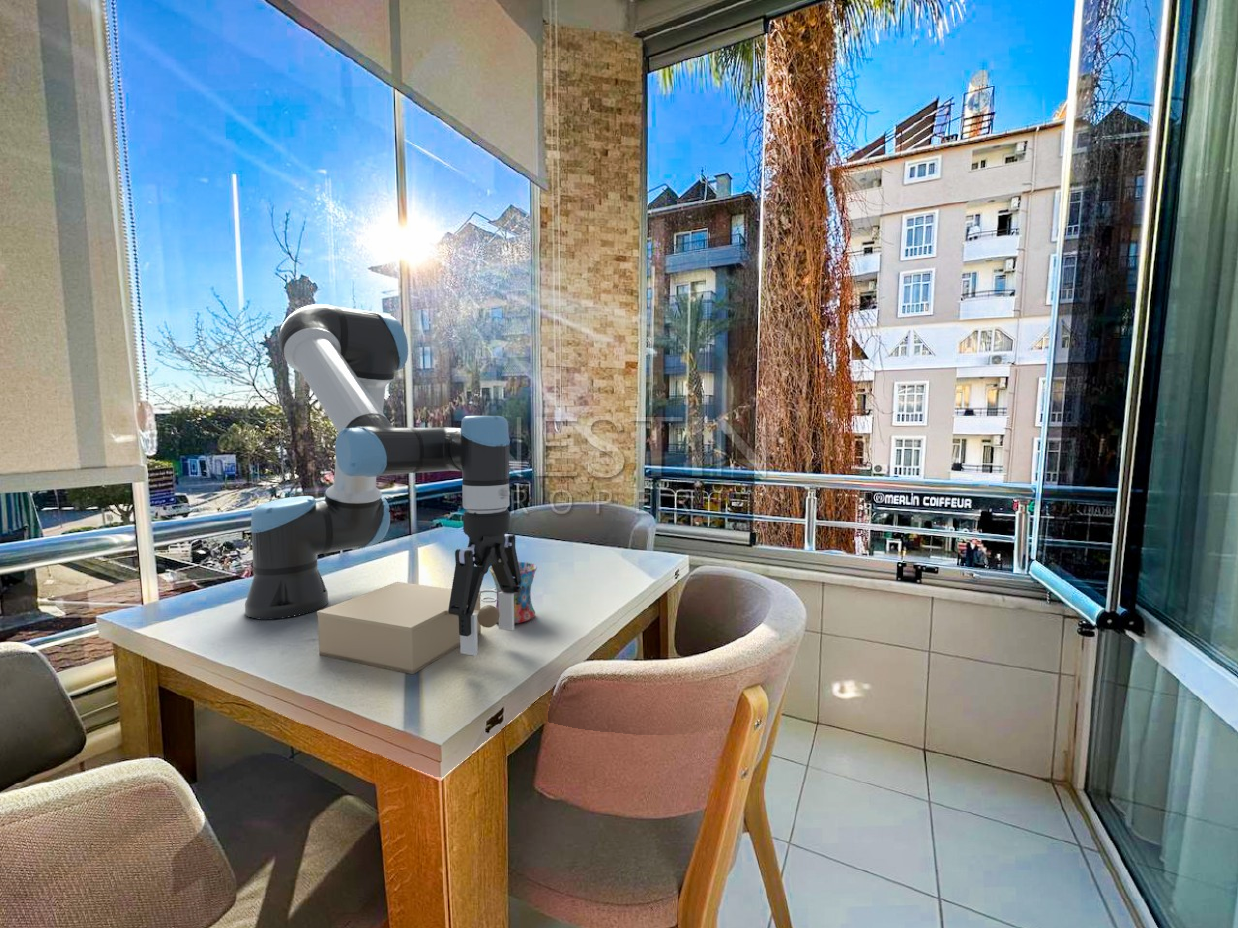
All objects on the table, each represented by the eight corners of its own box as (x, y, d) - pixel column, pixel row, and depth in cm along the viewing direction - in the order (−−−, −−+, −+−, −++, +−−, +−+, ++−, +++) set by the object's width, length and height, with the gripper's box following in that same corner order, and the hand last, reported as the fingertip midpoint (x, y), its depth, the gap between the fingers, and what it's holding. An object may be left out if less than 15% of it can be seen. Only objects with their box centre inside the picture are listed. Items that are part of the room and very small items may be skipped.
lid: (317, 623, 90) (316, 602, 90) (397, 591, 107) (396, 574, 107) (463, 650, 80) (462, 626, 79) (526, 610, 97) (526, 590, 97)
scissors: (500, 601, 117) (416, 596, 120) (500, 605, 118) (416, 599, 120) (516, 587, 128) (438, 582, 131) (516, 590, 128) (438, 585, 131)
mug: (520, 630, 102) (520, 575, 101) (481, 623, 105) (480, 570, 105) (552, 610, 113) (551, 561, 112) (515, 604, 116) (514, 556, 116)
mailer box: (319, 654, 91) (317, 614, 90) (397, 618, 107) (396, 585, 107) (413, 674, 84) (411, 631, 83) (480, 632, 100) (480, 596, 100)
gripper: (462, 522, 76) (465, 673, 77) (540, 501, 97) (541, 620, 98) (420, 519, 78) (423, 665, 80) (505, 499, 99) (506, 615, 101)
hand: (488, 640), depth 89 cm, fingers open, 10 cm apart
